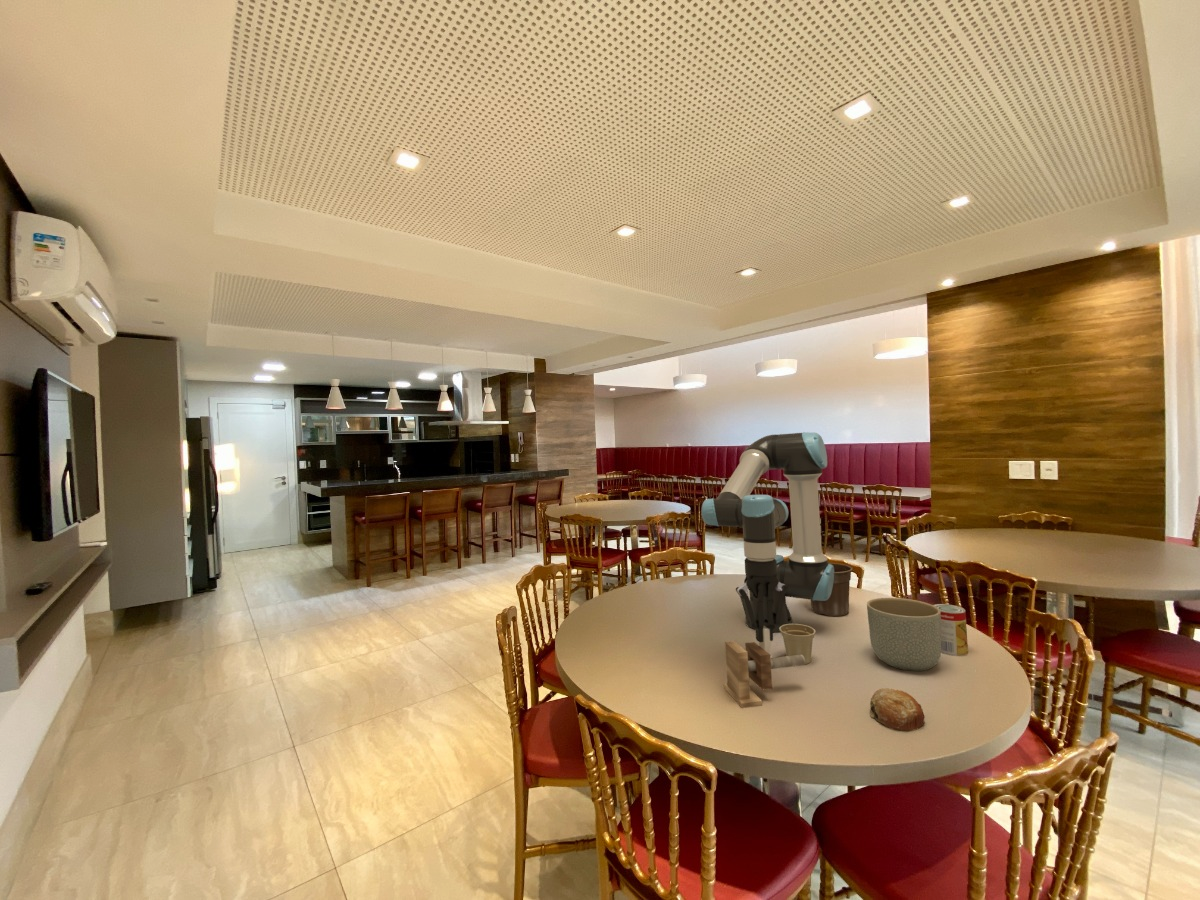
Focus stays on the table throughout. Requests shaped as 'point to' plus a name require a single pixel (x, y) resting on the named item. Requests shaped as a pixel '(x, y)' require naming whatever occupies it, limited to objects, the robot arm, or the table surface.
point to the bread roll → (896, 709)
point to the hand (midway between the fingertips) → (765, 654)
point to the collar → (760, 665)
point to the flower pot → (798, 640)
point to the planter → (905, 632)
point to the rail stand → (740, 676)
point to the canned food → (953, 630)
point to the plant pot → (836, 593)
